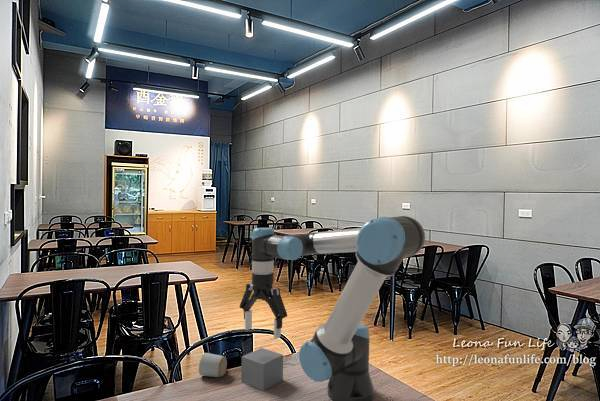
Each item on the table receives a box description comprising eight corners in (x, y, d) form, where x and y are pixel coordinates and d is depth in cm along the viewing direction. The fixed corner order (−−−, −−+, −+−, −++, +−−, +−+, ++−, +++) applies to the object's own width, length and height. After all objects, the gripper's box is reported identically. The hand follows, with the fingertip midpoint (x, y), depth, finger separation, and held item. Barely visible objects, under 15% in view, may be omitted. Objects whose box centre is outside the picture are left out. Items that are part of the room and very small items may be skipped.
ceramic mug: (220, 381, 138) (220, 359, 138) (198, 379, 140) (198, 357, 140) (230, 368, 149) (231, 348, 149) (210, 366, 150) (210, 346, 150)
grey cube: (282, 379, 140) (283, 354, 140) (263, 390, 132) (263, 364, 132) (261, 371, 146) (261, 347, 146) (241, 381, 138) (241, 356, 138)
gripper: (297, 275, 134) (297, 338, 134) (244, 266, 149) (244, 323, 149) (283, 279, 128) (283, 344, 128) (229, 269, 143) (229, 328, 143)
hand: (262, 333), depth 139 cm, fingers open, 13 cm apart
